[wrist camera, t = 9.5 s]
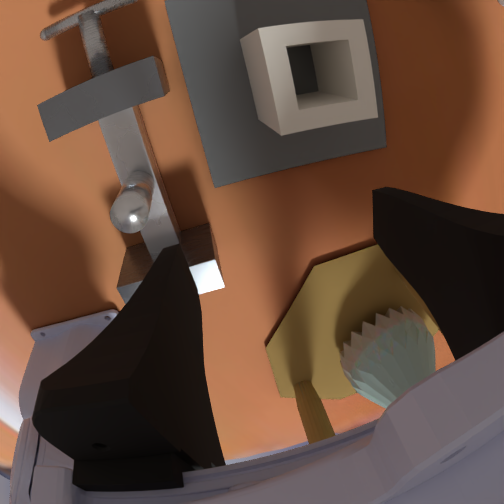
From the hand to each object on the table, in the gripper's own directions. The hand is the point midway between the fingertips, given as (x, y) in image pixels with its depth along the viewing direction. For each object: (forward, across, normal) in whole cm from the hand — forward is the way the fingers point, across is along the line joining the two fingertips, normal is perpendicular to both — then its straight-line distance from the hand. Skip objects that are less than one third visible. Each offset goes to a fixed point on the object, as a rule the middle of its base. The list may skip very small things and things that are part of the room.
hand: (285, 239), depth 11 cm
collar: (+9, -4, -5) cm, 11 cm away
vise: (+10, +6, -3) cm, 12 cm away
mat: (+10, -4, -5) cm, 12 cm away
